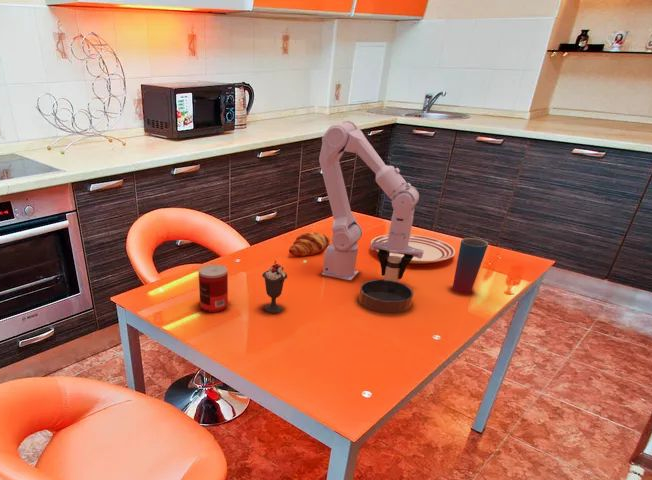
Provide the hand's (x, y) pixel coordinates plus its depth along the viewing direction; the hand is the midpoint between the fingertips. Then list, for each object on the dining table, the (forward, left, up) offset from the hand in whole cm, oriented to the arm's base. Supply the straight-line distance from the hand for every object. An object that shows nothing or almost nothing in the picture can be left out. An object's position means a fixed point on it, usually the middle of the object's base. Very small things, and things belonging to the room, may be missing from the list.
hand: (391, 276), depth 142 cm
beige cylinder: (0, 0, -2) cm, 2 cm away
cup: (+19, +6, -3) cm, 20 cm away
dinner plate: (-1, +28, -3) cm, 28 cm away
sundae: (-23, -32, -3) cm, 40 cm away
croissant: (-32, +14, -3) cm, 35 cm away
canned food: (-38, -39, -3) cm, 55 cm away
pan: (+2, -13, -3) cm, 13 cm away
